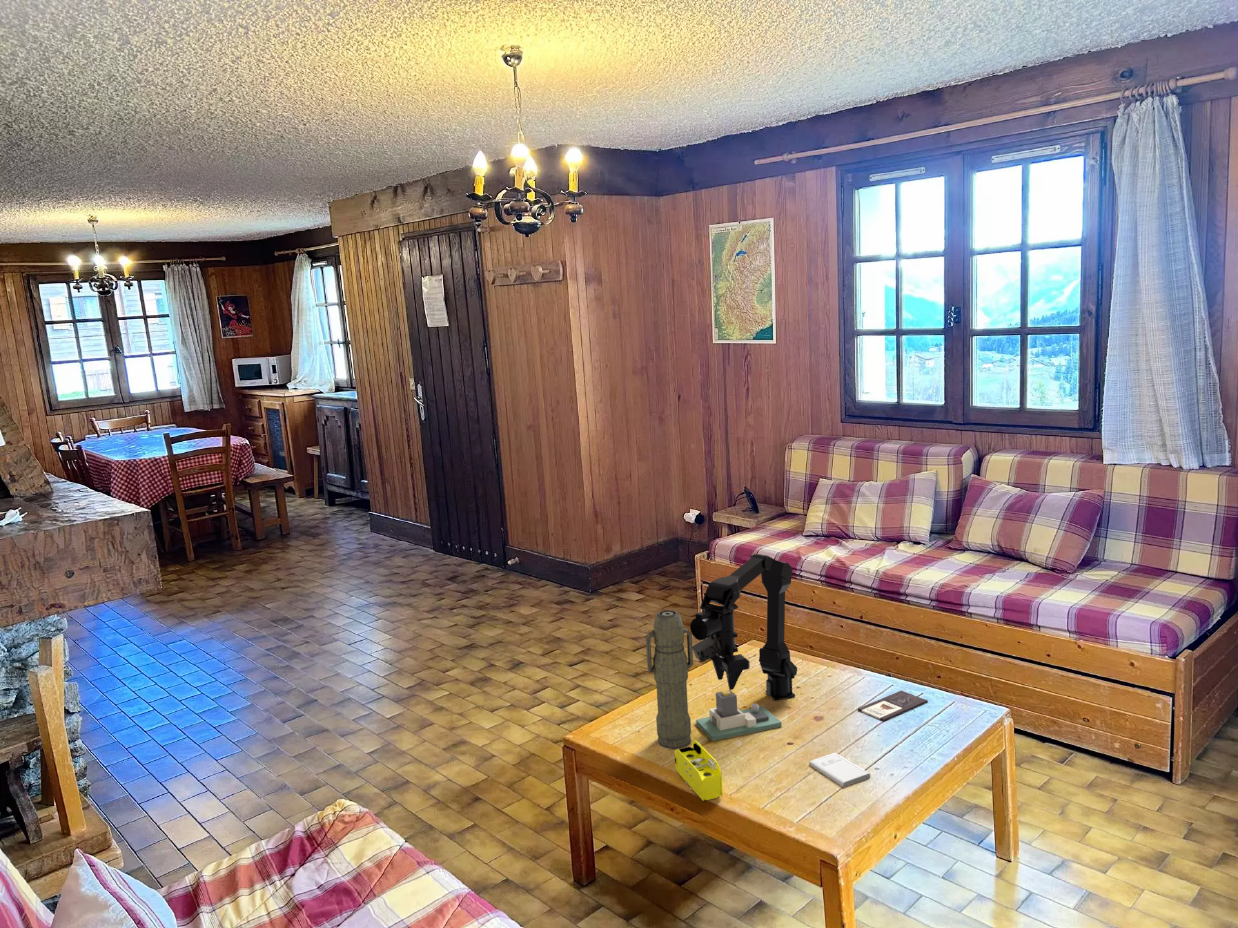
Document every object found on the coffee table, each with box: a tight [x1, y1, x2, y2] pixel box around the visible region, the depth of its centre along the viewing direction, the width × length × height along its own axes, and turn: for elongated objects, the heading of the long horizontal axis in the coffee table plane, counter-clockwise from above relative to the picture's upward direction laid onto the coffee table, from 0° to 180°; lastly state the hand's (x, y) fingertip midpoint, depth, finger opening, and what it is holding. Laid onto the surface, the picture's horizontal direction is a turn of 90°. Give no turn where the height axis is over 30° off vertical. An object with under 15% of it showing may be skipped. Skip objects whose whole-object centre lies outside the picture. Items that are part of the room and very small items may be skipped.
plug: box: [715, 689, 738, 718], centre depth 244 cm, size 4×4×9 cm
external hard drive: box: [808, 752, 871, 788], centre depth 219 cm, size 2×8×12 cm
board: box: [695, 703, 783, 742], centre depth 245 cm, size 20×11×4 cm, turn 108°
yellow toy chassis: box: [674, 739, 723, 802], centre depth 216 cm, size 16×6×8 cm, turn 20°
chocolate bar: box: [857, 690, 929, 722], centre depth 251 cm, size 9×1×18 cm
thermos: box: [645, 609, 694, 750], centre depth 236 cm, size 9×12×35 cm
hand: (725, 684), depth 243 cm, fingers open, 7 cm apart
